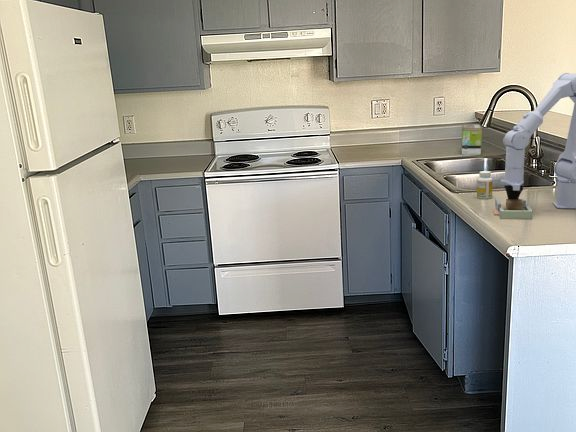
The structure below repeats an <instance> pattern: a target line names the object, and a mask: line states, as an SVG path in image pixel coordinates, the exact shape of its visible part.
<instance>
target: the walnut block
mask: <svg viewBox="0 0 576 432" xmlns="http://www.w3.org/2000/svg"><path fill="white" fill-rule="evenodd" d="M505 210H522V211H524V208H523V202H522V200H521V198H519V199H508V198H507V199H506V200H505Z"/></svg>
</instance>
